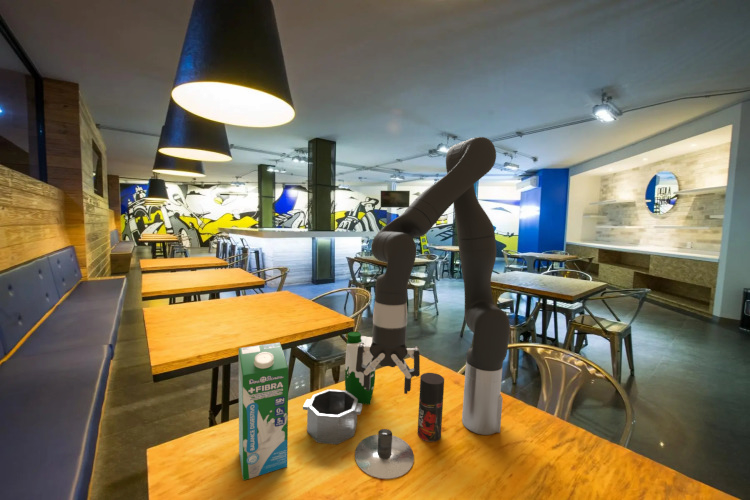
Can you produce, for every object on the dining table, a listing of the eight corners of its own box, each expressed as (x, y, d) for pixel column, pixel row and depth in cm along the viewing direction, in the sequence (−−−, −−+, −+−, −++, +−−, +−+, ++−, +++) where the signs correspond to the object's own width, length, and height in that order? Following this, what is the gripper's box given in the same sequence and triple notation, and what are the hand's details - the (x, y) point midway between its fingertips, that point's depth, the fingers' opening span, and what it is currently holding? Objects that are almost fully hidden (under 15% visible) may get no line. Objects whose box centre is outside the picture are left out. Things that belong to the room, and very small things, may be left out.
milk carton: (243, 481, 66) (242, 364, 64) (239, 452, 74) (238, 347, 72) (287, 467, 71) (288, 356, 68) (279, 441, 79) (280, 341, 76)
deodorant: (445, 434, 83) (448, 378, 82) (432, 445, 79) (435, 386, 77) (426, 423, 87) (429, 370, 86) (412, 433, 83) (415, 378, 81)
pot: (363, 416, 90) (364, 392, 89) (357, 446, 78) (358, 418, 77) (311, 411, 91) (311, 387, 90) (297, 440, 79) (297, 413, 78)
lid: (412, 439, 81) (413, 418, 81) (414, 483, 68) (416, 457, 67) (359, 434, 82) (359, 413, 82) (350, 476, 69) (351, 451, 68)
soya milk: (346, 389, 103) (347, 328, 101) (374, 390, 103) (376, 329, 101) (342, 405, 94) (344, 338, 92) (373, 406, 94) (376, 340, 92)
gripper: (421, 318, 75) (417, 384, 77) (360, 314, 76) (358, 379, 78) (423, 329, 68) (418, 402, 69) (355, 324, 69) (353, 396, 71)
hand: (386, 390), depth 74 cm, fingers open, 8 cm apart
